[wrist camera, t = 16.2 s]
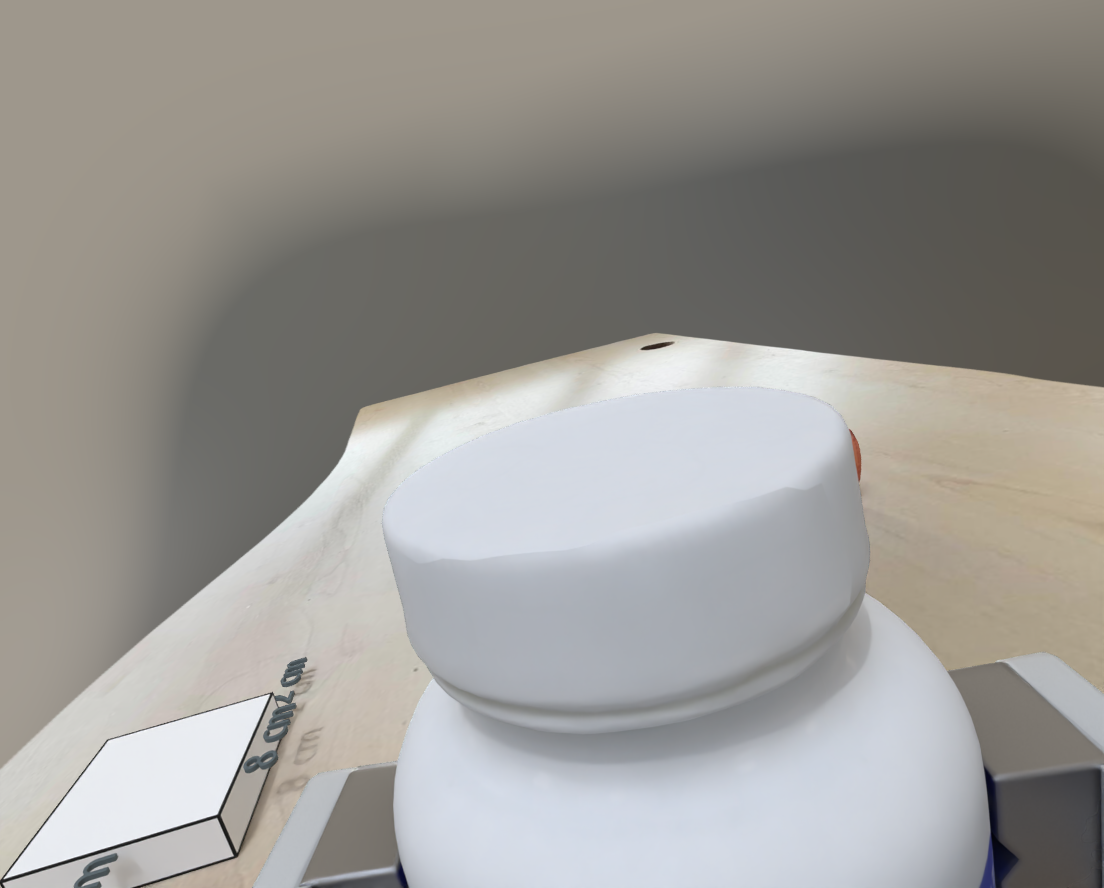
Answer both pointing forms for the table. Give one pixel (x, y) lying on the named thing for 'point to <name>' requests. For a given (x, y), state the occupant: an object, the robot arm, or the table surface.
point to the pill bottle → (670, 662)
